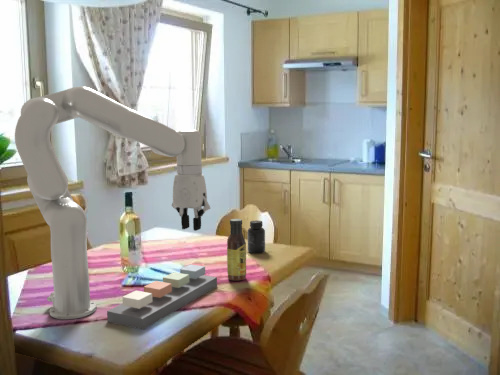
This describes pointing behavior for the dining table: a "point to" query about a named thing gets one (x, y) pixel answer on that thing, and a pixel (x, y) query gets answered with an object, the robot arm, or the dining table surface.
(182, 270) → the slate key
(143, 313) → the keypad base
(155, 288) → the terracotta key
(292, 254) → the dining table surface
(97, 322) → the dining table surface
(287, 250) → the dining table surface
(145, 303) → the cream key
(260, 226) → the supplement bottle
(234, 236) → the sauce bottle
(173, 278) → the sage key
